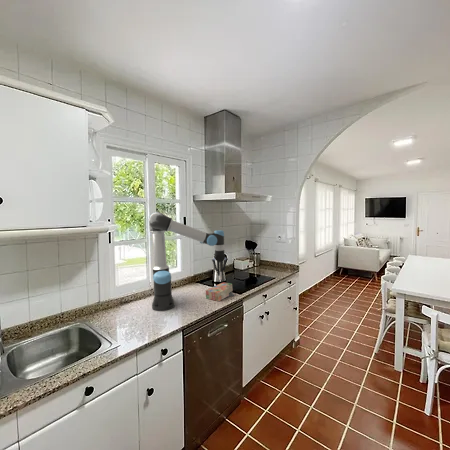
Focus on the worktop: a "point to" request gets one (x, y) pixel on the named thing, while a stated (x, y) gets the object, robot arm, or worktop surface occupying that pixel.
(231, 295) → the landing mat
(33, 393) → the worktop surface
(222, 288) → the stack of blocks
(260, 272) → the worktop surface
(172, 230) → the robot arm
